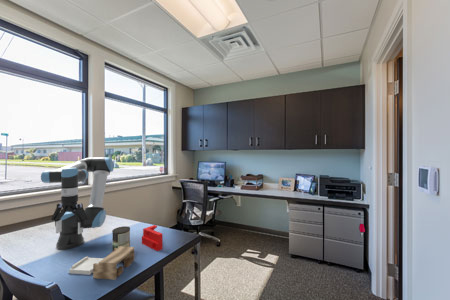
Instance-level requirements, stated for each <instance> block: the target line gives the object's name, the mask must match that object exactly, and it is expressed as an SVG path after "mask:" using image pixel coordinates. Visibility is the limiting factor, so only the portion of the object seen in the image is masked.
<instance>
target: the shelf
mask: <svg viewBox="0 0 450 300" xmlns="http://www.w3.org/2000/svg"><path fill="white" fill-rule="evenodd" d="M103 258H104V259H103V260H101V261H100V262H99V264H98V263H95V264H93V273H92V278H93V279H101V280H114V281H115V280H117V279H118V278H117V277H120V276H121V275H122V273H124V268H129V267H130V266H131V265H132V263H133V262H135V246H130V247H122V246H120V247H118V248H115V249H114V251H113V252H110V253H109V254H108V255H107V256H105V257H103ZM121 262H124V263H123V266H122V265H120V266H118V267H117V265H118V264H119V263H121Z"/></svg>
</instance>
